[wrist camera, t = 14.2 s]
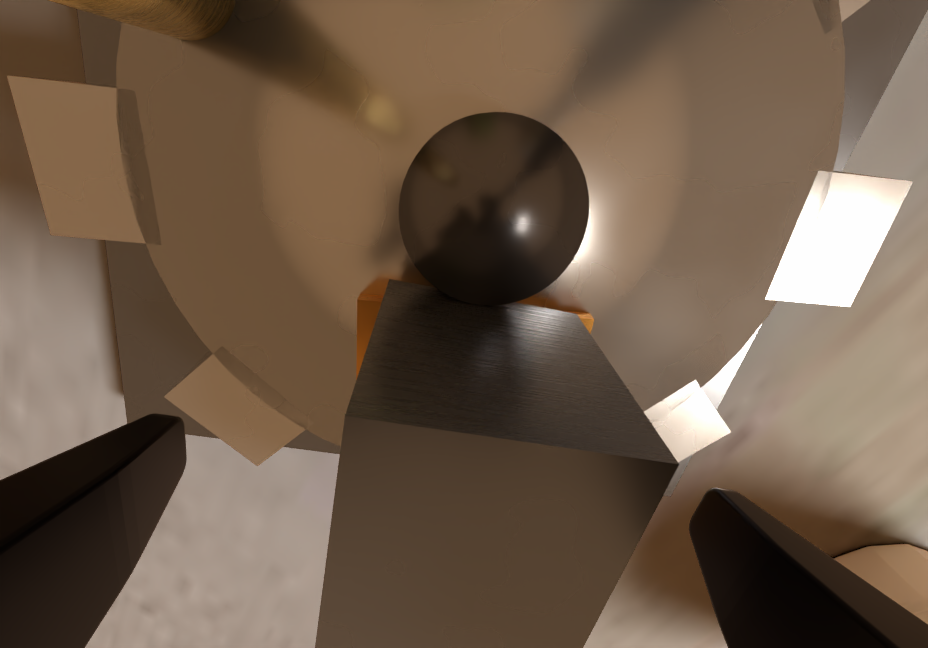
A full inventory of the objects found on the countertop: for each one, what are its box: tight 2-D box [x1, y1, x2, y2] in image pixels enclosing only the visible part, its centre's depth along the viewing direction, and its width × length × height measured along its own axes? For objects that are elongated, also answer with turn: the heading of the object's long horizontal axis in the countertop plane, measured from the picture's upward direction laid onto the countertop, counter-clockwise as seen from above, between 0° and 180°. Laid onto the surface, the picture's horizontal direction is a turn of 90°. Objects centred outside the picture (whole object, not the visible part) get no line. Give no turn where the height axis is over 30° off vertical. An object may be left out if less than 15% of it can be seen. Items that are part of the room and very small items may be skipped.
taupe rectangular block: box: [315, 279, 679, 648], centre depth 7 cm, size 4×5×4 cm
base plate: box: [77, 0, 928, 497], centre depth 10 cm, size 16×16×1 cm
